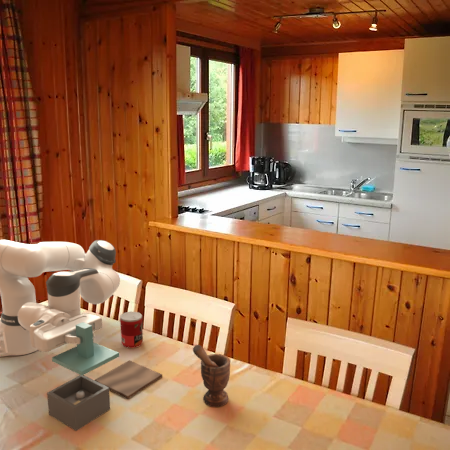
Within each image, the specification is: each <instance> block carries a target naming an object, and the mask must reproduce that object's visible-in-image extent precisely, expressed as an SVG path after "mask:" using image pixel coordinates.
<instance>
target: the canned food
mask: <svg viewBox="0 0 450 450" xmlns="http://www.w3.org/2000/svg"><path fill="white" fill-rule="evenodd" d="M119 319H120V320H119V323H120V325H119V326H120V340H121V345H122V346H123V347H125V348H127V347H128V348H129V349H133V348H138V347H140V346H142V345H143V342H144V341H143V340H144V338H143V337H144V336H143V332H144V331H143V315H142V314H141V313H140V312H139V311H127V312H123V313H122V314H121V315H119Z"/></svg>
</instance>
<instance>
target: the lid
mask: <svg viewBox="0 0 450 450" xmlns="http://www.w3.org/2000/svg"><path fill="white" fill-rule="evenodd" d="M76 336H81V337H83V343H81V344H76V346H74V347H72V348H70V349H67V350H66V351H63V352H61V353H59V354H56V355H54V356H52V357H51V362H53V363H54V364H57V365H59V366H61V367H63V368H64V369H67V370H69V371H72V372H73V373H76V374H77V375H78V376H79V375H81V376H82V375H84V376H85V375H86V374H88V373H90V372H93V371H94V370H96V369H98V368H100V367H102V366H103V365H106V364H108V363H109V362H111V361H113V360H115V359H117V358H119V357H120V352H118V351H117V350H113V349H111V348H109V347H108V346H107V347H106V346H104V345H101V344H98V343H97V342H95V341H94V338H93V331H92V325H89V324H87V323H84V322H82V323H79V324H77V325H76Z"/></svg>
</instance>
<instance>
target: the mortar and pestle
mask: <svg viewBox="0 0 450 450" xmlns="http://www.w3.org/2000/svg"><path fill="white" fill-rule="evenodd" d="M192 351H193V353H194V355H195V356H196V357H197V358H198V359H199V360H200V374H201V375H200V376H201V379H202V381H203V386H204V387H205V389H207V391H206V392H205V394H203V397H202V398H203V402H204V403H205V404H206V406H207V405H208V406H209V407H216V408H217V407H222V406H224V405H226V404H227V403H228V402H229V396H228V393H227V392H226V390H224V389H225V388H227V386H228V383H229V380H230V378H231V359H230V358H229V357H228V356H227V355H225V354H222V353H221V354H220V353H212V354H208V353H207V351H206V350H205V348H204V347H203V346H202V345H200V344H195V345H194V346H193V348H192Z"/></svg>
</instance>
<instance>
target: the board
mask: <svg viewBox="0 0 450 450" xmlns="http://www.w3.org/2000/svg"><path fill="white" fill-rule="evenodd" d="M162 378H163V374H162V373H160V372H157V371H155V370H153V369H150V368H148V367H147V366H144V365H141V364H139V363H137V362H134V361H132V360H127V361H125V362H124V363H122V364H120V365H118V366H117V367H115V368H113V369H111V370H109V371H107V372H105V373H104V374H102V375H100V376H99V377H97V378H95V379H94V380H95V381H97V382H99V383H101V384H103V385H105V386H107V387H109V391H111V392H113V393H114V394H117V395H119V396H120V397H122V398H124V399H127V400H129V399H130V398H133V396H135V395H137V394H139V393H140V392H141V391H143V390H144V389H146V388H148V387H149V386H151V385H153V384H154V383H155V382H156V381H158V380H159V379H162Z"/></svg>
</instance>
